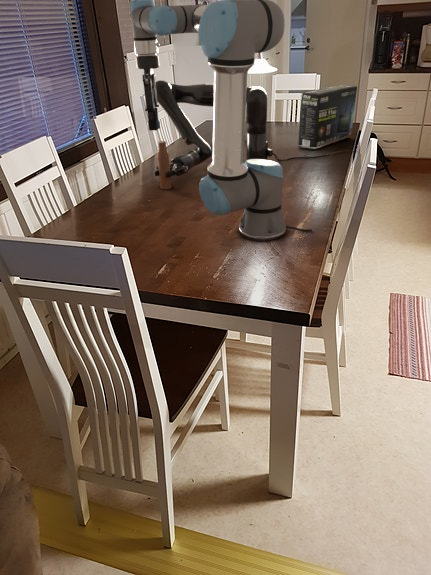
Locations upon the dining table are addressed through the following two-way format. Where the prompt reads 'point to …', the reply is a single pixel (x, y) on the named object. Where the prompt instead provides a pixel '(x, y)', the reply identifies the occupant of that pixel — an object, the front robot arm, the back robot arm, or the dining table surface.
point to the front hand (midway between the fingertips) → (154, 128)
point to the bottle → (163, 165)
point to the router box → (326, 115)
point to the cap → (157, 124)
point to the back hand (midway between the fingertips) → (161, 174)
